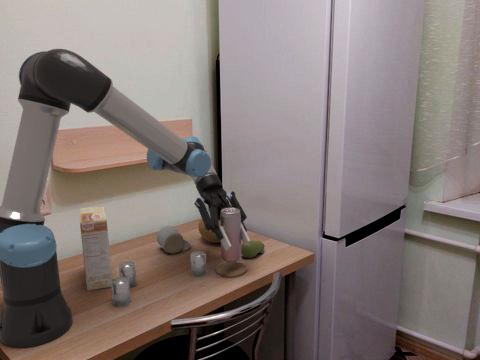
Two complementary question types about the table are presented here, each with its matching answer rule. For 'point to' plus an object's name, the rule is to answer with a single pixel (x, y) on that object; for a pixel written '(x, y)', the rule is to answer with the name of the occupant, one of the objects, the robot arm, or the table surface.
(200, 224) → the potato
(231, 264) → the coaster
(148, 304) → the table surface
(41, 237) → the robot arm
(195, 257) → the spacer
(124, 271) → the cylinder
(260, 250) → the pear
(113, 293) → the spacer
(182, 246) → the ceramic mug
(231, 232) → the beverage can
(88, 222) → the coffeecake box
